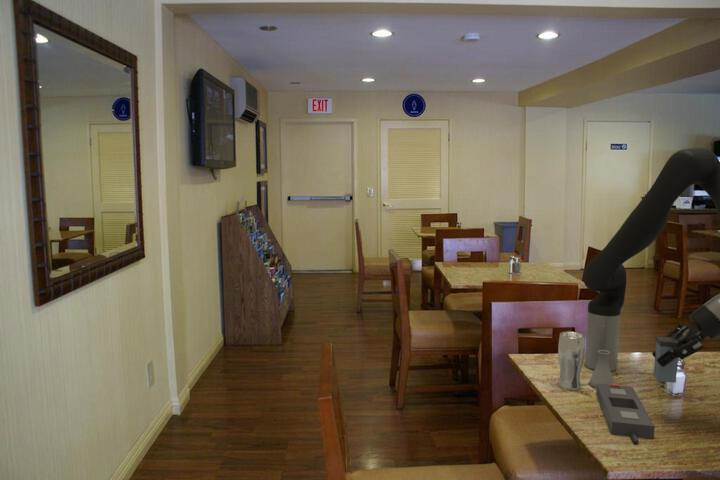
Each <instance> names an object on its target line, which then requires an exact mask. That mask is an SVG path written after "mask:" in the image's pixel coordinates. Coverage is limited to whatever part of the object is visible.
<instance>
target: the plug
mask: <svg viewBox="0 0 720 480" xmlns="http://www.w3.org/2000/svg"><path fill="white" fill-rule="evenodd" d="M675 341H676V339H675V338H671V337H666V336H656V337H655V350H656V351H655V350H654V351H655V357H654V365H653V376H654V378H655V380H656V381H657V382H661V383H673V384H674V383H675V384H676V383H677V374H678V373H677V372H678V361H679V360H678V359H679V358H678V359H677V358H675V359H674V360H673V361H671V362H670V363H669V364H667V365H666V366H664V367H662V366H661V365H660V364H659V363H658V362H657V359H658V358H659V357H660V356H662V355H663V354H664V353H666V352H667V351H668V350H670V349H671V348H672V347H673V346H675V345H676V342H675ZM669 352H670V351H669Z"/></svg>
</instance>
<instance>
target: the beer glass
mask: <svg viewBox="0 0 720 480" xmlns="http://www.w3.org/2000/svg"><path fill="white" fill-rule="evenodd" d="M558 338H559V339H558V346H557V347H558V349H557V350H558V352H557V353H558V362H559V378H558V382H557V384H558V387H559V388H561V389H563V390H567V391H578V390H580V389H581V388H582V384H581V383H582V382H581V373H582V367H583V363H584V361H585V350H586V337H585V335H584V333H583V334H582V333H580V332H576V331H561V332H560V333H559V337H558Z"/></svg>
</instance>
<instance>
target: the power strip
mask: <svg viewBox="0 0 720 480" xmlns="http://www.w3.org/2000/svg"><path fill="white" fill-rule="evenodd" d="M595 389H596V390H595V395H596V398H597V400H598V403H599V405H600V408H601V410H602V413H603V415H604V418H605V421H606V423H607V426H608V429H609V431H610V434H611V435H618V436H628V437H630V438H631V440H632V442H633V444H636V445H637V444H638V443H640V440H639V438H645V439H655V438H654V437H655V424H654V423H653V420H652V419H651V416H650V415H649V413H648V412H647V410H646V408H645V406H644V405H643V403H642V401H641V399H640V397H639V396H638V394H637V392H636V391H635V389H634V387H633V386H630V385H629V386H628V385H621V384H619V383H615V384H611V383H610V385H608V384H597V387H596V388H595Z"/></svg>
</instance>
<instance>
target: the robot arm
mask: <svg viewBox="0 0 720 480" xmlns="http://www.w3.org/2000/svg"><path fill="white" fill-rule="evenodd" d="M693 185H698V186H699V187H700V188H701V189H703V191H705V192H706V194H707V195H708V196H709V198H711V201H712V202H713V204H714V206H715V209H716V212H717V214H718V218H719V220H720V159H719V158H718V156H717V155H716V154H715V153H714V152H713V151H712V150H710V149H708V148H705V147H694V148H693V147H692V148H691V147H690V148H683V149H680V150H678V151H676V152H674V153H673V154H672V155H670V157H669V158H668V159H667V161H666V162H665V164H664V166H663V168H662V169H661V170H660V172H659V174H658V176H657V177H656V179H655V181H654V182H653V184H652V186H651V187H650V188H649V190H648V191H647V192H646V193H645V195H644V196H643V197H642V199H641V200H640V202H638V204H637V205H636V207H635V208H634V209H633V210H632V211H631V212H630V214H628V217H627V218H626V219H625V221H624V222H623V223H622V225H621V226H620V227H619V229H618V230H617V232H615V234H614V235H613V236H612V238H611V239H610V240H609V242H608V243H607V244H606V245H605V247H604V248H603V249H602V250H601V251H600V252H599V253H598V254H597V255H596V256H595V257H594V258H593V259H592V260H590V262H589V263H588V265H586V267H585V269H584V272H583V279H582V280H583V283H584V285H585V287H586V289H588V290H589V291H591V292H597V293H598V294H597V296H596V297H594V298H593V299H592V300H590V301H589V302H588V304H587V314H586V315H587V318H586V320H587V321H586V337H585V353H584V366H585V367H586V368H588V369H590V370H595V368H596V365H597V362H598V357H599V354H598V350H606V351H609V352H610V354H609V357H608V360H609V366H610V370H611V372H613V371H616V370H617V368H618V356H619V341H620V340H619V339H620V328H621V327H620V326H621V323H620V321H621V312H622V311H621V310H622V308H623V306H624V303H625V298H626V297H625V296H626V291H627V290H626V289H627V283H628V282H627V280H628V279H627V271H626V268H625V266H624V265H623V264H624V263H625V262H627V261H628V260H630V259H632V258H633V257H635V256H636V255H638V254H640V253H641V252H642V251H644V250H646V249H647V248H649V246H650V245H652V244H653V242H655V240H656V239H657V238H658V237H659V236H660V234H661V233H662V232H663V231H664V229H665V228H666V226H667V224H668V221H669V218H670V213H671V209H672V207H673V205H674V203H675V202H676V201H677V199H679V198H680V197H681V195H682V194H683V193H684V192H685V191H686V190H687V189H688V188H689V187H691V186H693ZM688 318H689V319H690V320H691V321H692V322H690V323H688V324H686V325H683V324H682V323H679V324H677V326H675V327H674V328H673V329H672V330H671V331H670V332H669V333H668V334H667V335H666V336H665V337H671V338H675V339H676V341H675V342H676V345H675V346H673V347H672V348H671V349H670V350H668V351H667V352H666V353H664V354H663V355H662V356H660V357H659V358H658V359H657V362H658V363H659V364H660V365H661V366H662V367H664V366H666V365H667V364H669V363H670V362H671V361H673V360H674V359H675V358H677V359H680V360H684V359H686V358H688V357H690V356H692V355H693V354H696V353H698V352H699V351H702V350H703V349H704V348H705V346H704V345H703V344H702V342H704V340H706V338H709V339H710V340H711V341H715V340H717V338H719V337H720V293H718V294H717V295H715V296H713V297H711V298H710V299H709V300H707V301H706V302H705V303H703V304H702V305H701V306H700V307H698V308H697V309H695V310H694V311H693V312H692V313H690V314H689V315H688ZM655 351H656V349H655V350H654V351H652V352H651V355H652V356H653V357H654V358H655ZM669 351H670V352H669Z"/></svg>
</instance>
